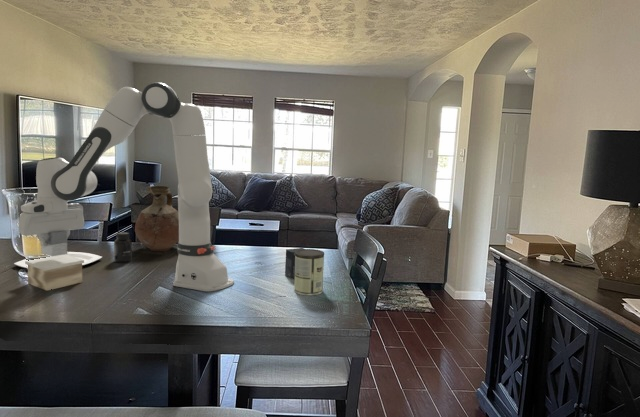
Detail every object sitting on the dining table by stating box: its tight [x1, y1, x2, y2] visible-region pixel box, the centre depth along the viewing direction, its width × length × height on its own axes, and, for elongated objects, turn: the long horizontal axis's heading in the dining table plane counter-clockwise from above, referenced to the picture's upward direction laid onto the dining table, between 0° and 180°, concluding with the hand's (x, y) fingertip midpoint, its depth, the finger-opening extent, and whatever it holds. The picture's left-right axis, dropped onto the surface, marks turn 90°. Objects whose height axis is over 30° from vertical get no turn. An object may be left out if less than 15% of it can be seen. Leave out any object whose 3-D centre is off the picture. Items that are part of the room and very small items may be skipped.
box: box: [284, 247, 305, 279], centre depth 172 cm, size 8×6×11 cm
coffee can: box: [293, 248, 325, 296], centre depth 153 cm, size 10×10×14 cm
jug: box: [134, 185, 179, 252], centre depth 206 cm, size 22×22×30 cm
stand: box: [25, 254, 84, 291], centre depth 152 cm, size 13×13×8 cm
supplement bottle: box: [113, 231, 133, 264], centre depth 183 cm, size 7×7×12 cm
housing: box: [40, 231, 68, 256], centre depth 150 cm, size 5×7×8 cm
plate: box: [13, 251, 103, 269], centre depth 176 cm, size 27×27×2 cm
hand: (54, 244), depth 150 cm, fingers closed on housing, 5 cm apart
